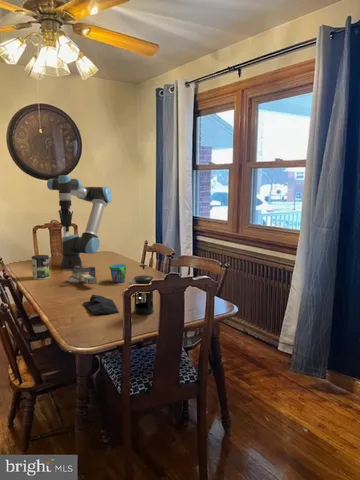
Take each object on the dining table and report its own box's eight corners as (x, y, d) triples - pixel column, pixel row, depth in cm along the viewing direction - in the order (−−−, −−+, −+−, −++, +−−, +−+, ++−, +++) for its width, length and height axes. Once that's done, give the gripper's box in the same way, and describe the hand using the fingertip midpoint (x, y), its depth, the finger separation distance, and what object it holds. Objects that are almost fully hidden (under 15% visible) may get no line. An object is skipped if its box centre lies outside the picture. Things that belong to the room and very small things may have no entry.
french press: (130, 310, 182) (129, 263, 178) (148, 307, 186) (147, 261, 183) (140, 317, 172) (139, 268, 168) (158, 314, 176) (158, 266, 173)
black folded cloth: (88, 318, 172) (87, 308, 172) (82, 303, 193) (82, 294, 192) (120, 314, 178) (120, 304, 177) (112, 300, 198) (112, 291, 197)
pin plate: (79, 277, 242) (79, 274, 242) (90, 280, 235) (90, 277, 235) (64, 281, 234) (64, 277, 233) (75, 284, 227) (75, 280, 227)
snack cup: (106, 279, 239) (106, 263, 238) (122, 277, 244) (122, 262, 242) (113, 285, 225) (113, 268, 224) (130, 283, 230) (130, 267, 228)
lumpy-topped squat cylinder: (154, 294, 208) (154, 279, 207) (131, 296, 204) (130, 280, 203) (149, 289, 218) (149, 274, 217) (127, 291, 214) (127, 276, 213)
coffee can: (52, 276, 247) (51, 255, 244) (44, 280, 237) (43, 258, 234) (38, 275, 249) (37, 254, 246) (29, 279, 239) (28, 257, 236)
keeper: (74, 285, 225) (74, 270, 224) (72, 284, 228) (72, 269, 226) (95, 281, 233) (95, 267, 232) (93, 280, 236) (93, 266, 234)
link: (71, 276, 235) (70, 266, 234) (80, 275, 238) (79, 265, 237) (88, 285, 215) (88, 274, 214) (98, 283, 219) (97, 272, 218)
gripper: (54, 199, 241) (55, 235, 245) (66, 200, 233) (67, 237, 237) (64, 199, 247) (65, 234, 251) (76, 200, 239) (77, 236, 243)
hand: (66, 236), depth 244 cm, fingers closed
